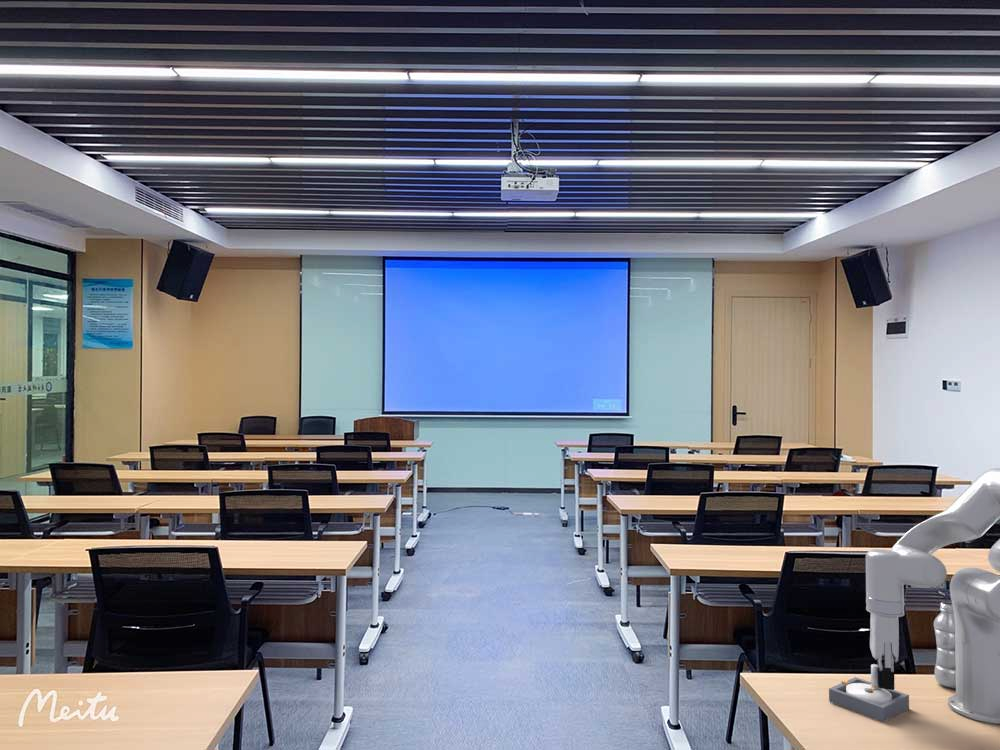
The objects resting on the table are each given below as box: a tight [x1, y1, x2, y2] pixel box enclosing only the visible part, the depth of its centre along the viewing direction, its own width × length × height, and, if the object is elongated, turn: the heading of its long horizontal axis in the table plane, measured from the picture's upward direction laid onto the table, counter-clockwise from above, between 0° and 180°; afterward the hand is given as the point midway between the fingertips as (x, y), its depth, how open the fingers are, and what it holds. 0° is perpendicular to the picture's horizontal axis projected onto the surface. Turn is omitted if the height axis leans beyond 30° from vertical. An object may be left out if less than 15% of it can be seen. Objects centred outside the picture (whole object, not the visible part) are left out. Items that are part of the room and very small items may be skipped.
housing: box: [828, 677, 910, 723], centre depth 154 cm, size 12×12×4 cm
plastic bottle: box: [933, 601, 956, 689], centre depth 166 cm, size 6×7×20 cm
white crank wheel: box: [846, 663, 892, 705], centre depth 154 cm, size 9×9×7 cm
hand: (885, 687), depth 153 cm, fingers closed
